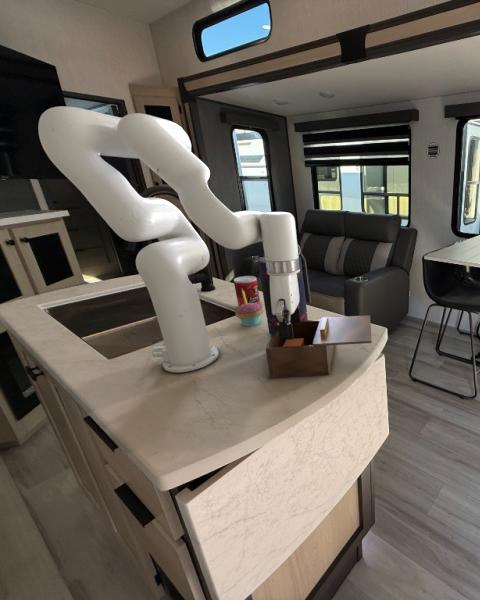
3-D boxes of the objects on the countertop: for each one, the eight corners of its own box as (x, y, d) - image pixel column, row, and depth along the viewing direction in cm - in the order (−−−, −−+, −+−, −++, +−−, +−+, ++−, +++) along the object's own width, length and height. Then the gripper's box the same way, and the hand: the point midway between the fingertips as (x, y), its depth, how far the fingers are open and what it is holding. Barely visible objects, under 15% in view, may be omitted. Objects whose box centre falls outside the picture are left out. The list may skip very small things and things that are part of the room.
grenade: (282, 345, 93) (267, 242, 82) (262, 333, 100) (246, 237, 89) (321, 329, 102) (312, 236, 92) (300, 319, 110) (290, 232, 99)
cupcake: (232, 325, 106) (225, 291, 102) (254, 316, 113) (249, 284, 108) (248, 330, 102) (241, 295, 97) (270, 321, 108) (265, 288, 104)
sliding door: (312, 346, 75) (311, 337, 74) (320, 319, 90) (320, 311, 89) (371, 343, 77) (371, 334, 76) (370, 317, 92) (369, 309, 91)
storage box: (270, 378, 77) (265, 349, 74) (285, 346, 92) (281, 321, 89) (328, 374, 78) (326, 345, 76) (334, 344, 93) (332, 319, 91)
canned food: (252, 310, 118) (247, 282, 114) (233, 308, 120) (228, 280, 116) (265, 303, 125) (260, 276, 121) (247, 301, 127) (242, 275, 123)
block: (284, 362, 82) (282, 347, 81) (288, 353, 86) (286, 338, 85) (302, 361, 83) (300, 346, 81) (305, 352, 87) (303, 338, 85)
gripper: (276, 258, 84) (283, 317, 89) (255, 276, 67) (266, 347, 73) (305, 257, 84) (310, 316, 90) (291, 275, 68) (299, 345, 74)
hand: (290, 330), depth 82 cm, fingers open, 9 cm apart
